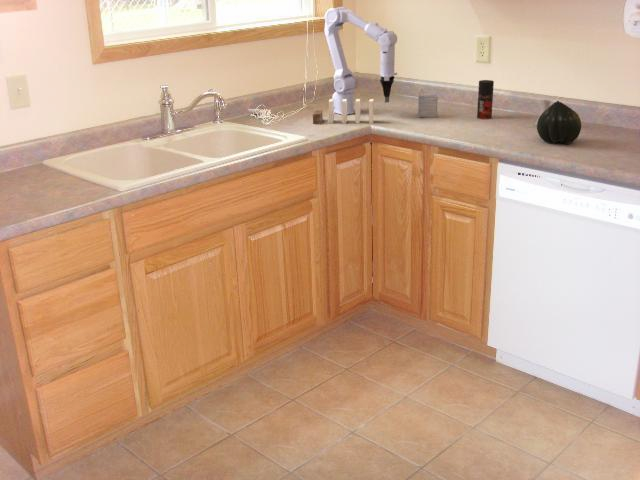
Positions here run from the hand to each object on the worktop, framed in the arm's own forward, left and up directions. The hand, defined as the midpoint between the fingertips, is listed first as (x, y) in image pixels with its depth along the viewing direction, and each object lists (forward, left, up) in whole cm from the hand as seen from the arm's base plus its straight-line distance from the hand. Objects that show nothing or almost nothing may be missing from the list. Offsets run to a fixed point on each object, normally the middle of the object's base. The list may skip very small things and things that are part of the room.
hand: (387, 95), depth 310 cm
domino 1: (-9, -22, -9) cm, 26 cm away
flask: (+55, +33, -10) cm, 65 cm away
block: (-13, -26, -9) cm, 31 cm away
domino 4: (+2, -11, -9) cm, 14 cm away
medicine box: (+11, +13, -9) cm, 20 cm away
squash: (+73, +16, -9) cm, 75 cm away
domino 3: (-2, -15, -9) cm, 17 cm away
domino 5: (0, 0, -3) cm, 2 cm away
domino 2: (-6, -19, -9) cm, 21 cm away
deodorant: (+29, +28, -9) cm, 41 cm away
